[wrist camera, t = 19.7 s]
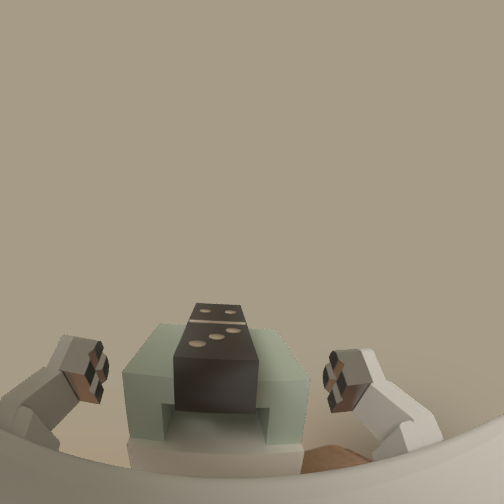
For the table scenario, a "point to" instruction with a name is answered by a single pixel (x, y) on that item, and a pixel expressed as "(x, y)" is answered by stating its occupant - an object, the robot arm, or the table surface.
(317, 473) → the robot arm
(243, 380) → the domino bar
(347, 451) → the table surface
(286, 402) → the slot stand
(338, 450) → the table surface
